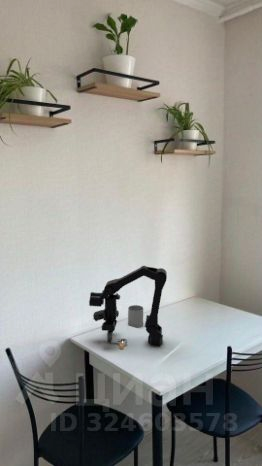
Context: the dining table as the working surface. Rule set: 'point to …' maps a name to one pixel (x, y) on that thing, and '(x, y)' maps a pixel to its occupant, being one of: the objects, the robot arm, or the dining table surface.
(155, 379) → the dining table surface
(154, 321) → the robot arm
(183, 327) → the dining table surface
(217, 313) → the dining table surface
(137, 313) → the cup
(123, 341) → the crank
